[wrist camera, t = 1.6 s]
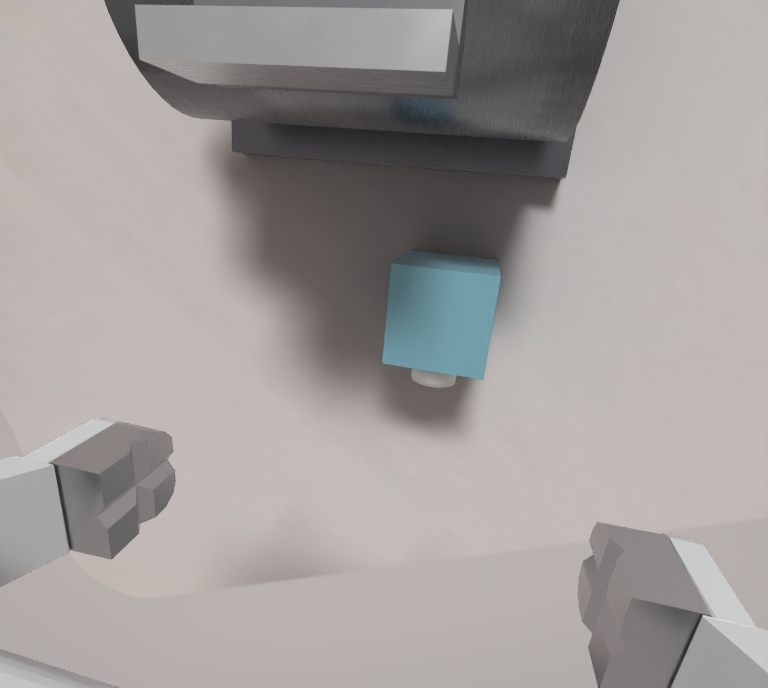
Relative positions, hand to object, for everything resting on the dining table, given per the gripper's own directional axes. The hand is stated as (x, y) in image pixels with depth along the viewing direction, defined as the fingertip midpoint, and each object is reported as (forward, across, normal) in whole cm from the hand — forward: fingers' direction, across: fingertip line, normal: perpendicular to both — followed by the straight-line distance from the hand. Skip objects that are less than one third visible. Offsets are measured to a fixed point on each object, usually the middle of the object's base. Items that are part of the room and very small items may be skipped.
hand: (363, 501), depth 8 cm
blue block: (+19, 0, 0) cm, 19 cm away
